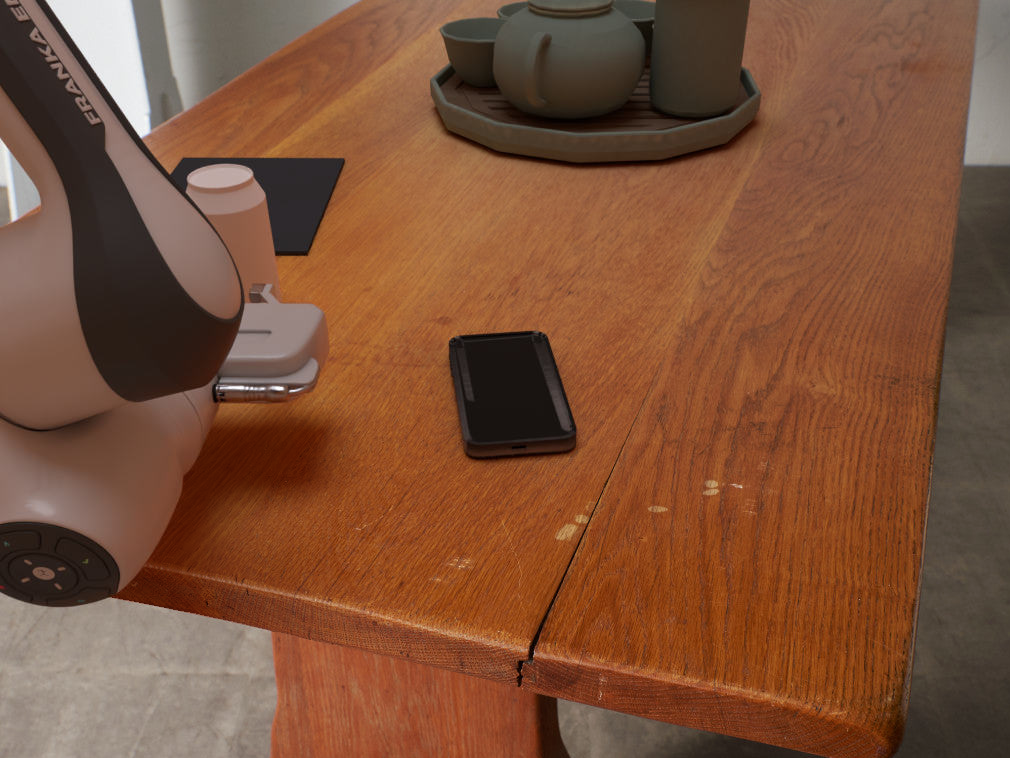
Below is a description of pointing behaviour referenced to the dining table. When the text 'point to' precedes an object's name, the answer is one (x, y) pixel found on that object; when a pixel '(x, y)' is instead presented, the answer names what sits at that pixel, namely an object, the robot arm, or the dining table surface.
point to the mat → (283, 193)
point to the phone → (510, 395)
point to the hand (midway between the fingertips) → (200, 292)
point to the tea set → (599, 78)
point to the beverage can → (238, 220)
